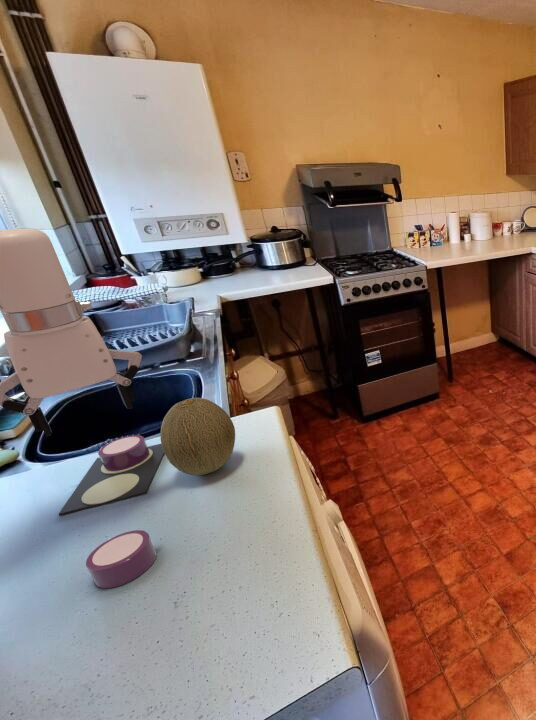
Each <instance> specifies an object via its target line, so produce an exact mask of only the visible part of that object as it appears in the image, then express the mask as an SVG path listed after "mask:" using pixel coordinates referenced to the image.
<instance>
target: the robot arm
mask: <svg viewBox="0 0 536 720" xmlns="http://www.w3.org/2000/svg"><path fill="white" fill-rule="evenodd" d="M54 247H55V246H54V245H53V242H52V240H51V238H50V237H49V236H48V234H47V233H46V232H44V231H42V230H40V229H37V228H7V229H0V313H1V315H2V317H3V319H4V321H5V323H6V325H7V327H8V331H6V332H4V333H3V338H4V344H5V347H6V351H7V353H8V354H7V355H8V356H9V360H10V362H11V364H12V367H13V369H14V372H13V373H12V374H10V375H8V376H7V377H5V379H2V380H1V381H0V407H2V408H3V409H4V410H7V411H12V412H17V413H20V414H23V415H25V416H28V418H29V421H30V422H31V424H32V426H33V429H35V432H36V433H39V432H42V431H43V433H44V435H45V437H46V438H47V437H50V436H52V435H53V430H52V428H51V426H50V424H49V422H48V420H47V418H46V416H45V413H44V412H43V410H42V408H41V407H40V405H41V403H42V401H44V399H45V398H50V397H54V396H57V395H61V394H65V393H67V392H71V391H75V390H78V389H83V388H86V387H88V386H93V385H96V384H99V383H102V382H106V381H108V380H109V381H111V382H114V383H116V384H115V386H116V388H117V390H118V394H119V395H120V399H121V401H122V403H123V405H124V406H125V408H126V409H128V410H132V409H134V406H133V403H132V402H134V401H136V397H135V395H134V392H133V390H132V386H131V384H132V381H133V380H134V378H135V377H136V375H137V374H138V373H139V370H140V369H139V368H140V365H141V361H142V359H143V355H142V354H141V353H140V352H138V351H130V350H129V351H128V350H121V349H112V348H108V346H107V344H106V343H105V341H104V339H103V337H102V335H101V334H100V332H99V331H98V329H97V327H96V325H95V324H94V322H93V320H92V319H91V318H90V317H89V316H85V315H84V314H85V313H86V312H87V311H90V310H93V308H94V307H93V306H92V302H91V301H90V300H86V301H83V300H81V301H79V300H78V299H76V298H75V296H74V292H73V290H72V288H71V286H70V284H69V281H68V278H67V277H66V273H65V271H64V269H63V267H62V265H61V262H60V259H59V256H58V254H57V252H56V250H55V248H54ZM114 360H123V361H128V365H127V366H126V367H125V369H124V370H123V372H120V371H117V368H116V365H115V361H114ZM19 384H20V385H21V387H22V388H23V390H24V392H25V394H26V397H25V399H24V400H21V399H16V398H12V397H9V396H8V395H7V392H9V391H11V390H12V389H14V388H15V387H17V386H18V385H19Z"/></svg>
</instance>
